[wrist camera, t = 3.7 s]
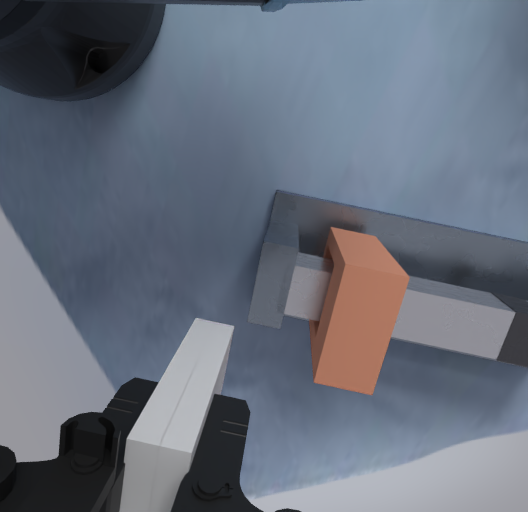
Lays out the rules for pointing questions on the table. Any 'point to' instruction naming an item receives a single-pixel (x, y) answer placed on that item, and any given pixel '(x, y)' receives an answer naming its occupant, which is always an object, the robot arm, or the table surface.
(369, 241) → the terracotta rectangular block
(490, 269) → the grey rail frame
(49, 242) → the table surface
